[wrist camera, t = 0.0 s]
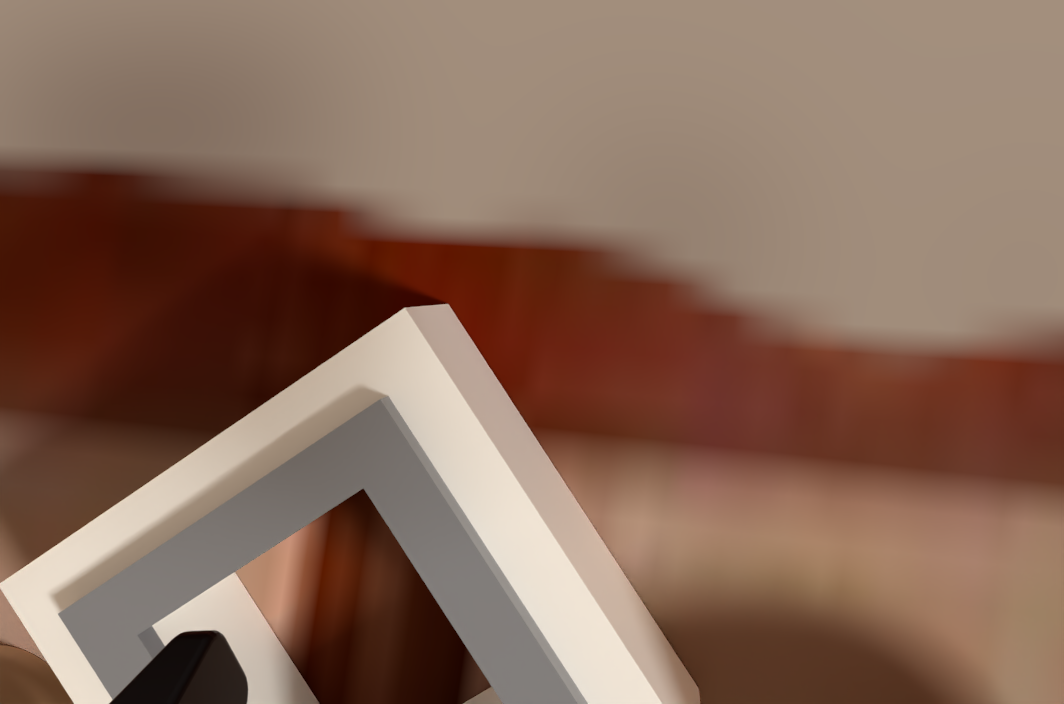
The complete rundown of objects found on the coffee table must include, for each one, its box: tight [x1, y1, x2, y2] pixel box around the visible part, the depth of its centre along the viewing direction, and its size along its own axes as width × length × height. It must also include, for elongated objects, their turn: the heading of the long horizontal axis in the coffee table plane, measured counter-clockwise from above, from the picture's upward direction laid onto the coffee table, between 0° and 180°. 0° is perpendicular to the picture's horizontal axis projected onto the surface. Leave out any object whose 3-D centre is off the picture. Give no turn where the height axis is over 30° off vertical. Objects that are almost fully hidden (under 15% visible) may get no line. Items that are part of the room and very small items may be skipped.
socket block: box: [0, 304, 700, 704], centre depth 23 cm, size 12×12×5 cm
